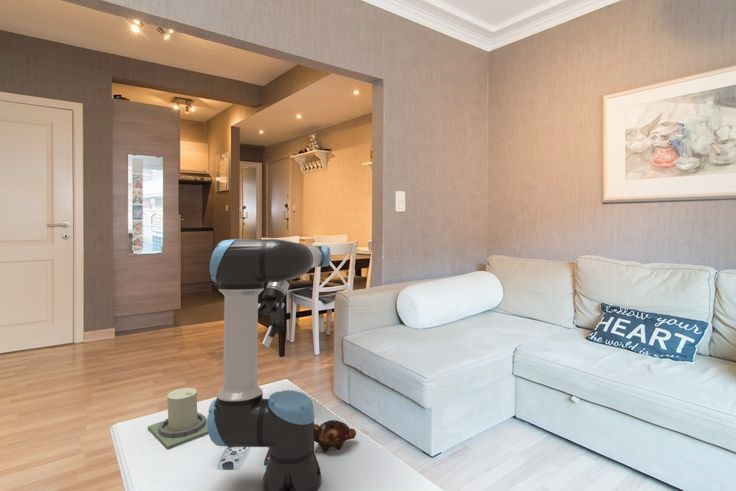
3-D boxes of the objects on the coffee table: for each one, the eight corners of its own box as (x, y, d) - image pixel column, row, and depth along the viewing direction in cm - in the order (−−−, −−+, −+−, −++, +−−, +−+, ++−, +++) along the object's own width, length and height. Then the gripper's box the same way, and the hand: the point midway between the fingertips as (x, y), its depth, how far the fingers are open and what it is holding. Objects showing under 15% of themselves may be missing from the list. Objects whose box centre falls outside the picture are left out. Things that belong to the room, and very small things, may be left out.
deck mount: (218, 430, 134) (217, 423, 134) (167, 449, 123) (167, 441, 122) (195, 413, 147) (195, 406, 146) (147, 429, 135) (147, 421, 135)
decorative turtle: (303, 445, 125) (304, 419, 125) (348, 437, 131) (349, 412, 131) (312, 459, 116) (313, 431, 116) (360, 450, 122) (361, 424, 123)
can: (186, 435, 129) (185, 398, 129) (161, 432, 131) (160, 396, 130) (203, 421, 138) (202, 387, 138) (180, 419, 140) (179, 385, 139)
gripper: (306, 296, 146) (284, 350, 134) (259, 298, 159) (235, 348, 147) (293, 284, 141) (270, 340, 129) (246, 288, 154) (221, 339, 143)
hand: (251, 345), depth 138 cm, fingers open, 13 cm apart
